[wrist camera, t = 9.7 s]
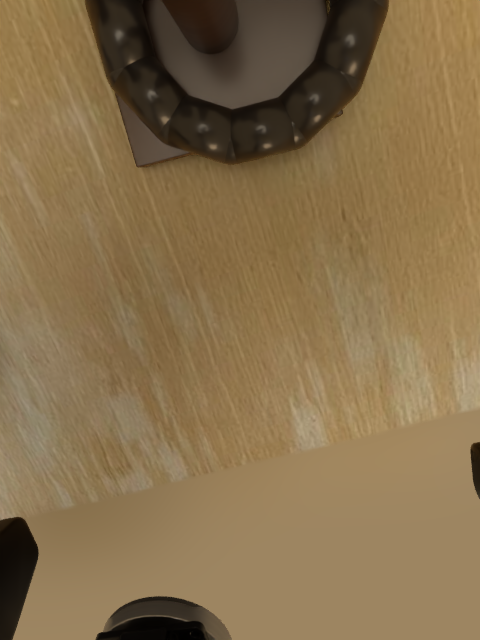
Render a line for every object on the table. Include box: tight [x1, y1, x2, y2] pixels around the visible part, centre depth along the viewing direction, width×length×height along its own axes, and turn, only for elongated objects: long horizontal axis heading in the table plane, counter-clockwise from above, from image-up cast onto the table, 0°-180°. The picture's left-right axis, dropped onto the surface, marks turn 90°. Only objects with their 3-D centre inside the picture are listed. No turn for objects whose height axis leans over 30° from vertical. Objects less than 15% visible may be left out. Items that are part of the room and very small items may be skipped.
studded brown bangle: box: [85, 0, 389, 165], centre depth 15 cm, size 10×10×2 cm
